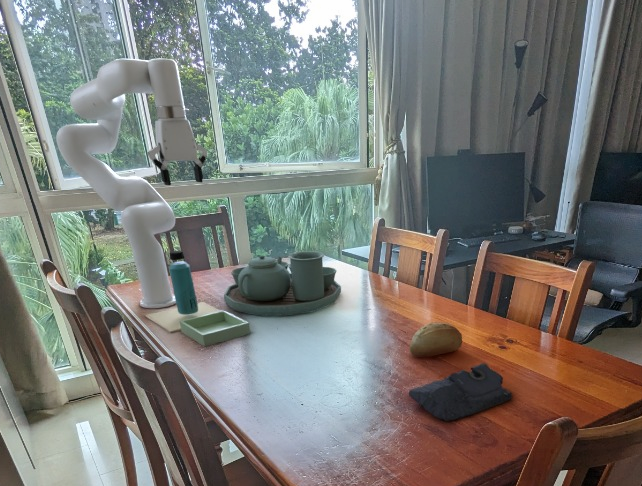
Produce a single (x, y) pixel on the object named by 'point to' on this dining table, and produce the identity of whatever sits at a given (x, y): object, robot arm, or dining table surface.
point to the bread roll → (435, 340)
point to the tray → (214, 327)
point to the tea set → (283, 285)
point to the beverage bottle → (182, 284)
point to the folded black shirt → (462, 393)
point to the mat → (178, 316)
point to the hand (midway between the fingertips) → (183, 183)
